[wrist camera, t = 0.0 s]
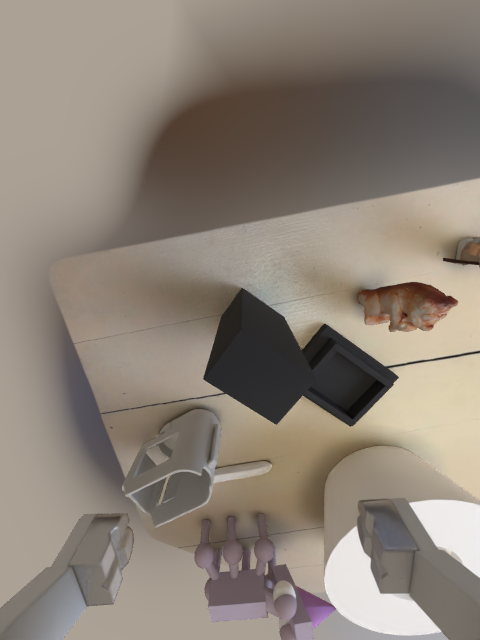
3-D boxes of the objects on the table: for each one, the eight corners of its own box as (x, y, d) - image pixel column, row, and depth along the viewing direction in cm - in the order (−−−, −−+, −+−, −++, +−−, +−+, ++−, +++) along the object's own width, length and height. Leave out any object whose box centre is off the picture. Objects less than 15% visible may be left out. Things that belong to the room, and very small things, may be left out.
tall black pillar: (242, 287, 35) (240, 328, 19) (284, 317, 37) (317, 379, 20) (220, 317, 37) (202, 379, 20) (262, 345, 38) (276, 425, 21)
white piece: (444, 410, 40) (524, 478, 29) (456, 525, 47) (526, 618, 35) (288, 448, 43) (304, 524, 31) (320, 552, 49) (344, 647, 38)
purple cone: (314, 501, 46) (342, 605, 33) (318, 546, 49) (345, 658, 36) (198, 513, 47) (181, 618, 34) (209, 556, 50) (197, 669, 37)
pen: (186, 471, 44) (184, 480, 43) (270, 458, 43) (271, 466, 42) (189, 479, 45) (187, 488, 43) (272, 465, 44) (273, 474, 42)
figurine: (353, 320, 37) (403, 357, 25) (353, 275, 35) (407, 292, 23) (390, 316, 36) (458, 351, 25) (392, 271, 35) (466, 286, 23)
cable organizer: (144, 431, 42) (107, 503, 31) (211, 395, 40) (198, 458, 29) (169, 461, 44) (143, 540, 32) (234, 427, 42) (231, 499, 30)
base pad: (324, 323, 37) (332, 330, 34) (394, 373, 39) (407, 384, 36) (279, 377, 39) (282, 388, 36) (347, 421, 41) (356, 436, 38)
